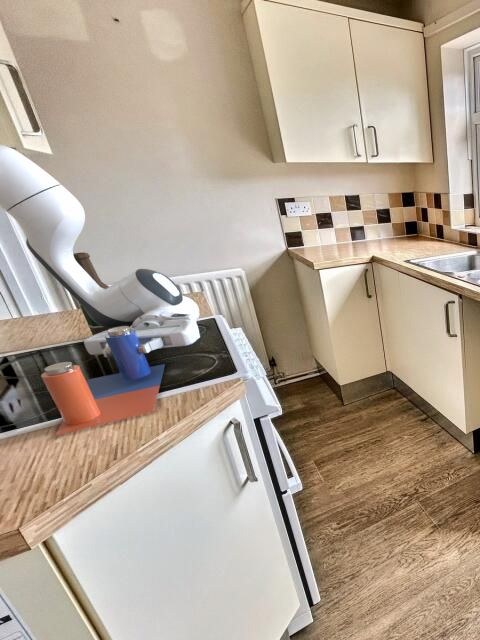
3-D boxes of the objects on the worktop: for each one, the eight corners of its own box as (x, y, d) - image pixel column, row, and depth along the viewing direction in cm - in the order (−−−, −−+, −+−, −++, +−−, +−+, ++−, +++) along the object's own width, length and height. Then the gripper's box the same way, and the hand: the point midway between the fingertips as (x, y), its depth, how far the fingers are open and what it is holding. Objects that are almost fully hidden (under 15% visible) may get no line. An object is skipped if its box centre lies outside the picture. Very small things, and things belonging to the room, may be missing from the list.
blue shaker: (120, 382, 90) (100, 335, 86) (124, 373, 94) (105, 328, 90) (150, 376, 93) (131, 329, 89) (152, 367, 97) (135, 323, 92)
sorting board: (55, 438, 75) (54, 435, 75) (88, 381, 95) (87, 379, 95) (154, 413, 82) (153, 411, 82) (165, 365, 102) (164, 363, 102)
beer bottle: (96, 337, 120) (59, 253, 111) (131, 330, 125) (99, 249, 115) (94, 345, 115) (56, 257, 105) (131, 338, 119) (97, 253, 110)
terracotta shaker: (61, 428, 77) (34, 374, 73) (68, 415, 81) (43, 364, 77) (97, 419, 79) (73, 367, 75) (103, 408, 83) (80, 357, 79)
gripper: (101, 321, 99) (60, 344, 87) (199, 313, 104) (173, 333, 91) (112, 346, 102) (73, 371, 89) (207, 337, 106) (183, 359, 94)
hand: (124, 352), depth 90 cm, fingers closed on blue shaker, 5 cm apart
